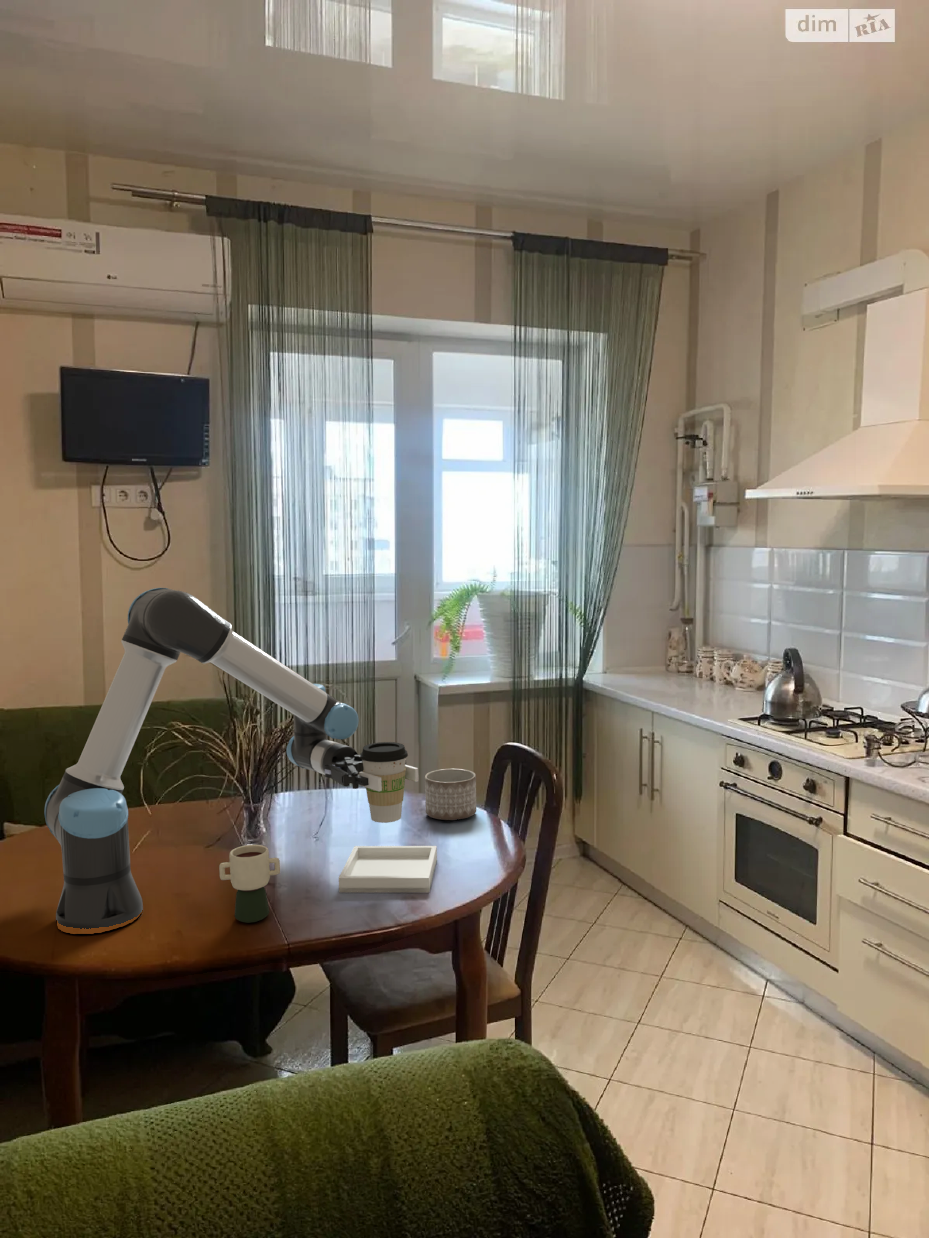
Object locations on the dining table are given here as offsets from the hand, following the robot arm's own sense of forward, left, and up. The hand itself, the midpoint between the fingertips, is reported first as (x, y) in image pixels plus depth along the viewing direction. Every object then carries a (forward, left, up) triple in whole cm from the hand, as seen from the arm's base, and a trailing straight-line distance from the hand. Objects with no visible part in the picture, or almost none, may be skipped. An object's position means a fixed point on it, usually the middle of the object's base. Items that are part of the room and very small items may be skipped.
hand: (398, 779), depth 182 cm
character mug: (-18, +26, -21) cm, 38 cm away
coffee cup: (+3, +3, -9) cm, 10 cm away
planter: (+42, -7, -22) cm, 48 cm away
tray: (+3, +3, -21) cm, 22 cm away
